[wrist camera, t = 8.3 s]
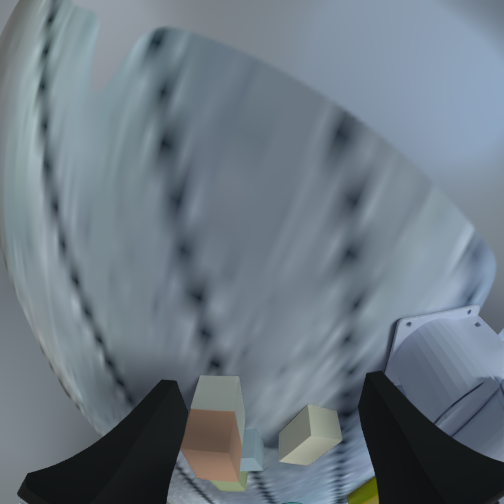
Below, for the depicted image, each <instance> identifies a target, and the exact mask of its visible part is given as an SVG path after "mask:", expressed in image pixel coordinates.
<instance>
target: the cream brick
mask: <svg viewBox="0 0 504 504" xmlns="http://www.w3.org/2000/svg"><path fill="white" fill-rule="evenodd" d="M341 441H342V435H341V430H340V425H339V420H338V415H337V411H336V410H331V409H327V408H322V407H318V406H314V405H310V404H307V405H306V407H305V408H304V409H303V410H302V411H301V412H300V413H299V414H298V415H297V416H296V417H295V418H294V419H293V420H292V421H291V422H290V423H289V424H288V425H287V426H286V427H285V428H284V429H283V430H282V431H281V432H280V433H279V462H285V463H292V464H299V465H306V466H308V465H310V464H311V463H313V462H314V461H316V460H317V459H318V458H320V457H321V456H322V455H324V454H325V453H327V452H328V451H329V450H331V449H332V448H333V447H334V446H336V445H337V444H338V443H340V442H341Z"/></svg>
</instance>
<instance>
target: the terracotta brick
mask: <svg viewBox="0 0 504 504" xmlns="http://www.w3.org/2000/svg"><path fill="white" fill-rule="evenodd" d="M180 449H181V451H182V453H183V454H184V456H185V458H186V460H187V461H188V463H189V465H190V466H191V468H192V470H193V471H194V473H195V474H196V476H197V478H198V479H206V480H216V481H229V482H239V473H240V464H241V454H242V443H241V439H240V434H239V430H238V425H237V420H236V415H235V411H216V410H201V409H191V411H190V414H189V418H188V421H187V425H186V429H185V434H184V438H183V441H182V444H181V447H180Z"/></svg>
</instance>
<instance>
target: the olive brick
mask: <svg viewBox="0 0 504 504" xmlns="http://www.w3.org/2000/svg"><path fill="white" fill-rule="evenodd" d="M247 475H248V471H240V473H239V482H229V481H216V480H210V481H211V482H212V483H213V484H214V485H215V486H216V487H217V488H218V489H219V490H220V491H242V492H243V491H246V487H247Z"/></svg>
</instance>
